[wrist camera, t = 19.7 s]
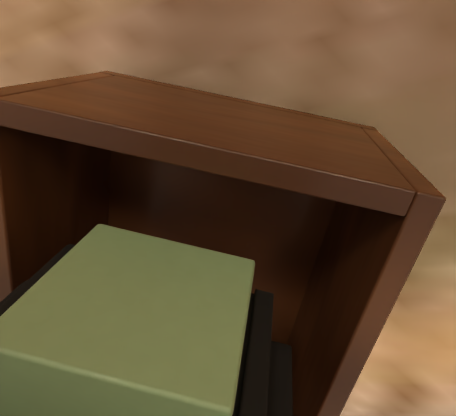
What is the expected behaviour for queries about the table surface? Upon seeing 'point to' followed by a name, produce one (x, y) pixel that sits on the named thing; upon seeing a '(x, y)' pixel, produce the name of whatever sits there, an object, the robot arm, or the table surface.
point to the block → (127, 331)
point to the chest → (223, 204)
